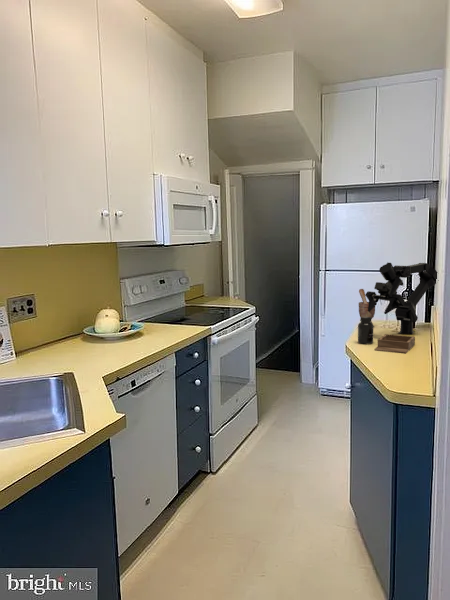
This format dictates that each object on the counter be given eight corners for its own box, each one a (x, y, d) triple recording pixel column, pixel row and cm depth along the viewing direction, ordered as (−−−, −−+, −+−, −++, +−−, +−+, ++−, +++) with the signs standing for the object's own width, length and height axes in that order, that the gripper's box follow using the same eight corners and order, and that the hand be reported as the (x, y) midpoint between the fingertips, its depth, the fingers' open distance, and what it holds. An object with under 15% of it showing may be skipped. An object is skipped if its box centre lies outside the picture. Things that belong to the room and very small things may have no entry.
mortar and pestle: (350, 325, 262) (351, 289, 259) (362, 323, 266) (362, 288, 264) (367, 329, 252) (367, 291, 250) (378, 326, 257) (379, 289, 254)
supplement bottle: (373, 344, 218) (374, 318, 216) (358, 344, 219) (358, 318, 218) (372, 341, 225) (372, 315, 223) (357, 340, 226) (357, 315, 224)
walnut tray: (385, 341, 222) (385, 334, 222) (414, 344, 216) (414, 336, 215) (374, 350, 207) (374, 342, 207) (405, 353, 200) (406, 345, 200)
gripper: (368, 274, 233) (352, 299, 228) (401, 277, 218) (385, 303, 213) (378, 289, 238) (363, 314, 234) (411, 292, 223) (396, 318, 218)
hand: (376, 312), depth 224 cm, fingers open, 9 cm apart
